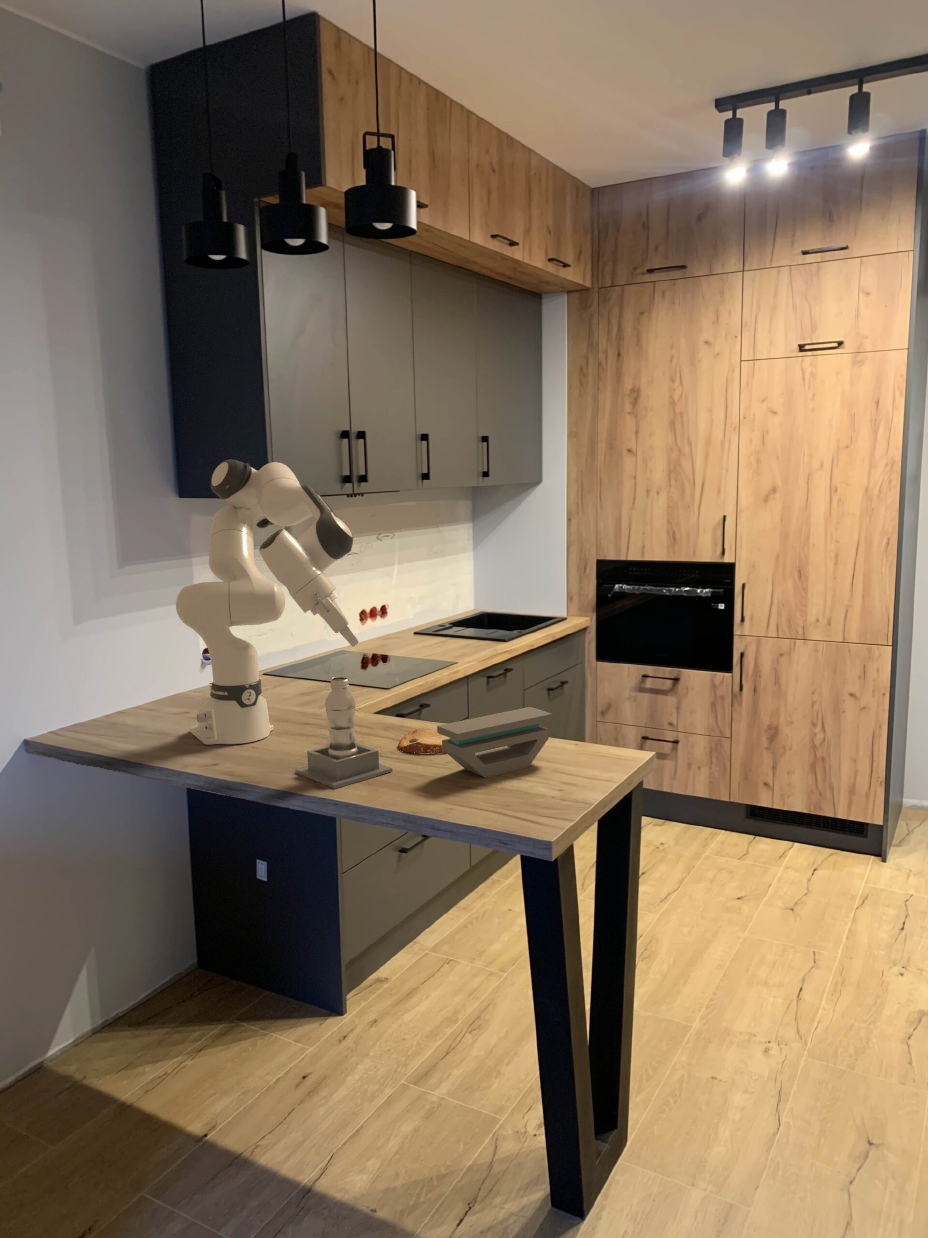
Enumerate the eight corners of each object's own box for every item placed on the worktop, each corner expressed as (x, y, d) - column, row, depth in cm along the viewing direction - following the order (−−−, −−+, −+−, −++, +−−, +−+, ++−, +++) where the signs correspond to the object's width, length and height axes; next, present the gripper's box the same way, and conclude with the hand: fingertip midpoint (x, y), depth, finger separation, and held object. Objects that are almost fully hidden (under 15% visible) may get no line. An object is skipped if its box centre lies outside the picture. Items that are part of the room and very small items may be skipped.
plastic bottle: (357, 773, 199) (352, 682, 196) (325, 773, 199) (321, 682, 196) (361, 763, 205) (357, 675, 202) (330, 764, 206) (326, 675, 202)
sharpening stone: (530, 753, 213) (530, 706, 211) (552, 761, 206) (552, 713, 205) (438, 775, 199) (437, 725, 197) (458, 784, 193) (457, 733, 191)
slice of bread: (494, 741, 224) (493, 725, 224) (457, 762, 209) (456, 746, 208) (430, 732, 233) (429, 717, 233) (390, 752, 218) (389, 736, 217)
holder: (295, 772, 203) (294, 751, 202) (351, 757, 213) (350, 737, 212) (334, 789, 192) (333, 766, 191) (392, 771, 202) (391, 750, 201)
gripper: (327, 585, 195) (368, 636, 196) (327, 586, 215) (365, 632, 216) (303, 604, 194) (345, 655, 196) (305, 603, 214) (343, 650, 216)
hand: (355, 643), depth 206 cm, fingers open, 8 cm apart
